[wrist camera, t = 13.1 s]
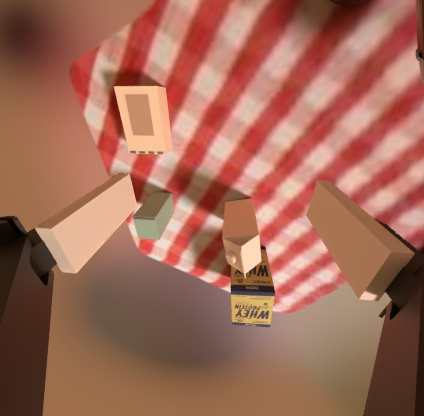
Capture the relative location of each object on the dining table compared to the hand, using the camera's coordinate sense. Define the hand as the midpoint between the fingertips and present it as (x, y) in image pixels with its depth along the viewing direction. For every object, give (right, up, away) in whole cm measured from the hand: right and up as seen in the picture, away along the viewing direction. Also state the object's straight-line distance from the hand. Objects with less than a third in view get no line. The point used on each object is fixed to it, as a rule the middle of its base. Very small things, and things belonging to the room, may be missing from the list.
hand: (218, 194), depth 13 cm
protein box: (+11, -19, +46) cm, 51 cm away
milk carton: (+7, -2, +36) cm, 37 cm away
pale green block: (-14, +1, +37) cm, 40 cm away
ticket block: (-14, +18, +27) cm, 35 cm away
